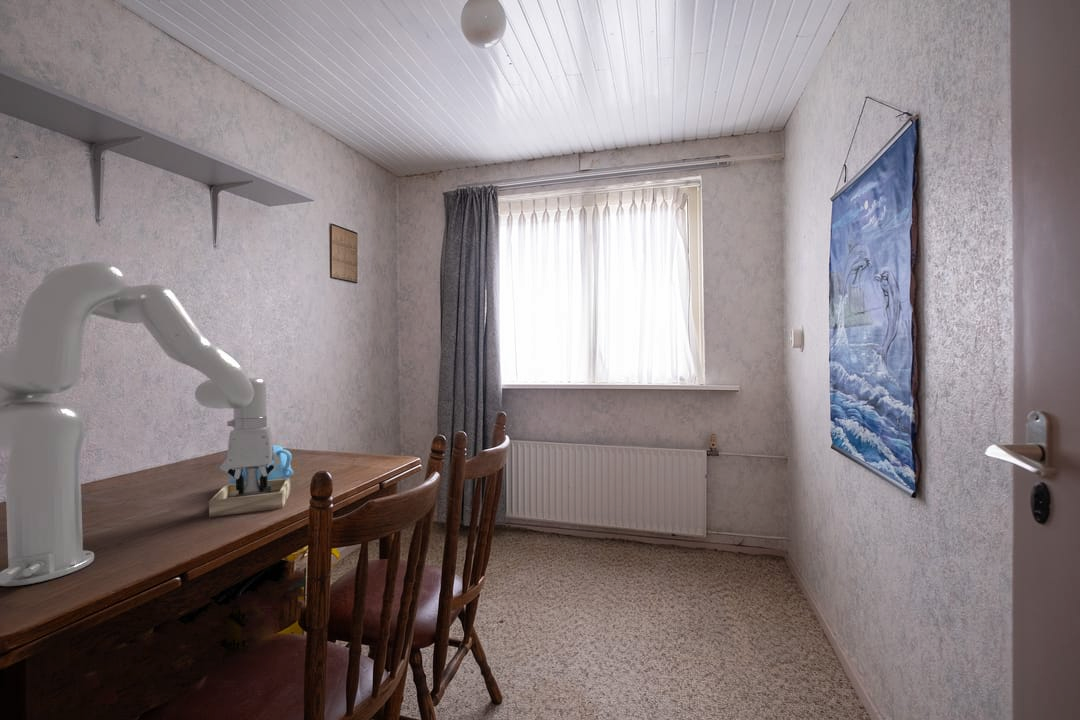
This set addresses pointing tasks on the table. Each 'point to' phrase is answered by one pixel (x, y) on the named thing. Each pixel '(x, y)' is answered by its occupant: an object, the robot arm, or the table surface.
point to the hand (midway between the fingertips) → (252, 490)
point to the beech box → (249, 499)
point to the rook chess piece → (251, 480)
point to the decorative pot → (279, 471)
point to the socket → (266, 491)
